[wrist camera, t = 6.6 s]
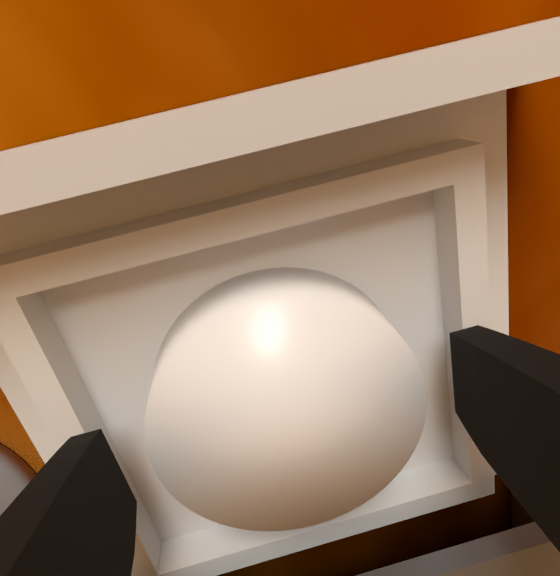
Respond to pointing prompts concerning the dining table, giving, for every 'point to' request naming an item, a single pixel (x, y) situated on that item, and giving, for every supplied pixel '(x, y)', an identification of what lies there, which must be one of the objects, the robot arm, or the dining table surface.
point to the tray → (265, 258)
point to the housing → (488, 554)
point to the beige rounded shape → (282, 401)
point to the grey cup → (12, 476)
